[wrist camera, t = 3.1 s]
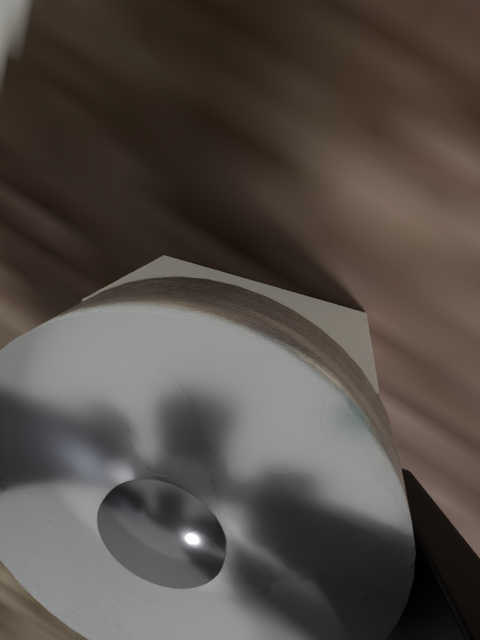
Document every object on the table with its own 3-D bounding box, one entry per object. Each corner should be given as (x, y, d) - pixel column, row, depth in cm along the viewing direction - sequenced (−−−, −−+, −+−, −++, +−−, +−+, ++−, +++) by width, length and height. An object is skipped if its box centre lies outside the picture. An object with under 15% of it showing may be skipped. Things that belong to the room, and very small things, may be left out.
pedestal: (305, 474, 11) (291, 595, 8) (140, 417, 12) (67, 510, 9) (366, 313, 9) (378, 391, 6) (163, 254, 10) (81, 299, 7)
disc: (325, 644, 8) (321, 751, 7) (26, 526, 9) (-36, 598, 8) (476, 355, 6) (527, 427, 4) (29, 225, 7) (-67, 245, 5)
